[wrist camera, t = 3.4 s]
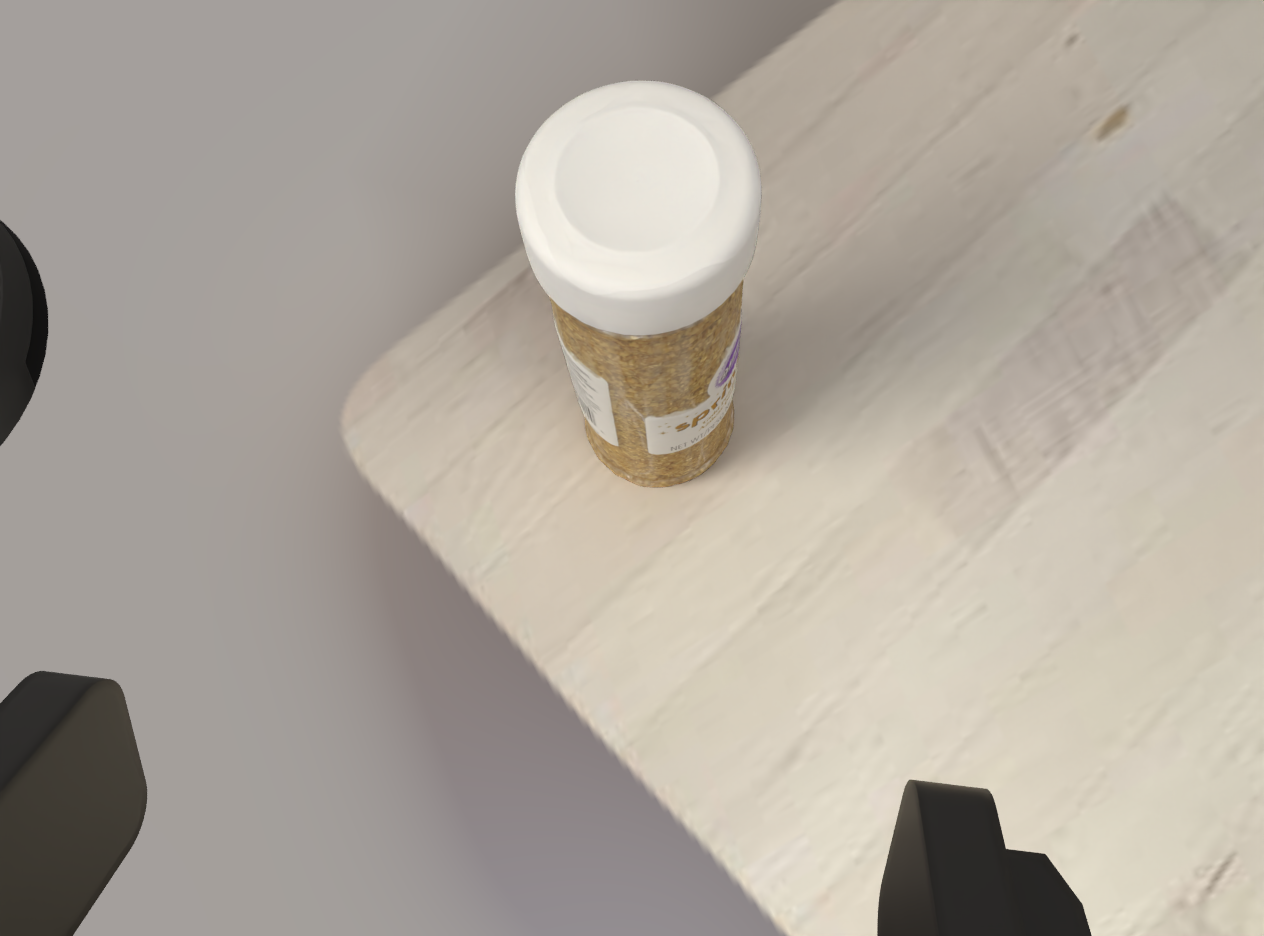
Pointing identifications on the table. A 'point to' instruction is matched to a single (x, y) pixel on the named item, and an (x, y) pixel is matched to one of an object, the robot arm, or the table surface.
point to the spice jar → (645, 267)
